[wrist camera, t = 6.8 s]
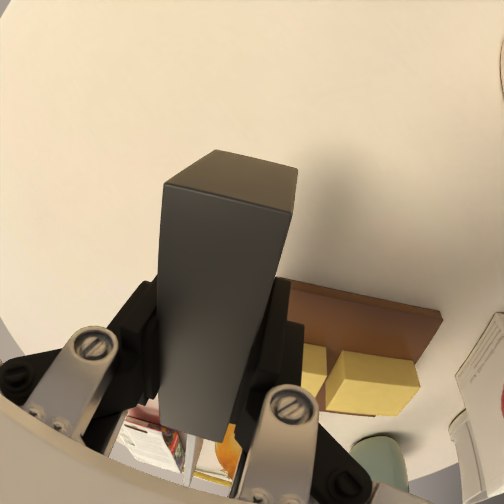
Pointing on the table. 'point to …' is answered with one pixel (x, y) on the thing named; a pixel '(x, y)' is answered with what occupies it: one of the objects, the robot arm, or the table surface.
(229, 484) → the pencil
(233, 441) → the fruit
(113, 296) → the table surface
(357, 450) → the cup
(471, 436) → the cup
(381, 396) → the butter stick
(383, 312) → the board
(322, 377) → the butter pat
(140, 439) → the ink box
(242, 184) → the knife
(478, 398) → the white product box
